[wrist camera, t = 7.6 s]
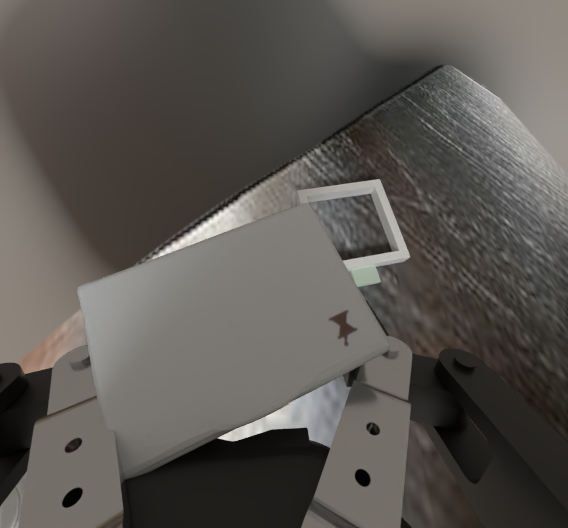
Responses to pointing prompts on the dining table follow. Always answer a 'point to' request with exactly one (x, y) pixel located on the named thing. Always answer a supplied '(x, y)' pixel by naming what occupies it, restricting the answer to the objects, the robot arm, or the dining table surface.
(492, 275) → the dining table surface
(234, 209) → the dining table surface
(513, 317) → the dining table surface
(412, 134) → the dining table surface
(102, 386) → the skincare box
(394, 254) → the frame
